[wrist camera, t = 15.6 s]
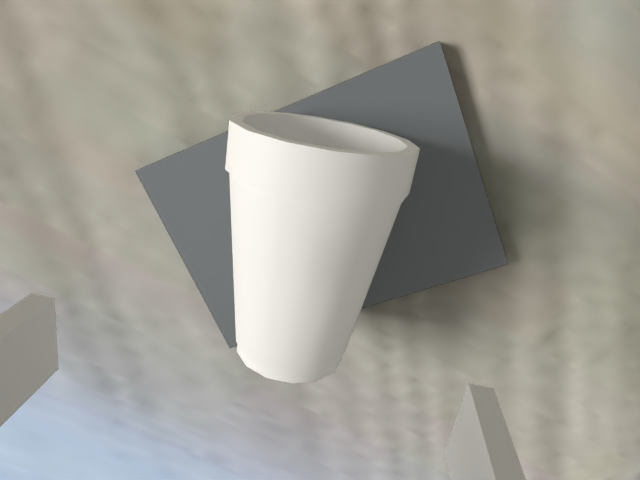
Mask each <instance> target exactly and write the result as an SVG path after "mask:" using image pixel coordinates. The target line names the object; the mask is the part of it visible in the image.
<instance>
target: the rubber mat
mask: <svg viewBox="0 0 640 480" xmlns="http://www.w3.org/2000/svg"><path fill="white" fill-rule="evenodd" d="M274 112H284V113H292V114H301V115H309V116H317V117H323V118H328V119H334V120H339V121H344V122H350V123H354V124H358V125H362V126H366V127H370V128H374V129H378V130H382V131H385V132H388V133H391V134H394V135H396V136H399V137H402V138H405V139H407V140H409V141H411V142H412V143H413V144H415V145H416V146H417V147H419V148H420V151H419V155H418V159H417V163H416V168H415V172H414V176H413V180H412V184H411V188H410V192H409V195H408V196H407V197H406V198H405V199H404V201H403V202H402V203H401V206H400V208H399V211H398V214H397V216H396V219H395V221H394V224H393V227H392V229H391V232H390V235H389V237H388V240H387V242H386V245H385V248H384V250H383V253H382V256H381V258H380V261H379V263H378V266H377V269H376V271H375V274H374V277H373V279H372V282H371V284H370V287H369V290H368V292H367V295H366V298H365V300H364V303H363V305H362V308H365V307H368V306H371V305H375V304H378V303H381V302H385V301H388V300H391V299H395V298H398V297H401V296H404V295H408V294H411V293H414V292H418V291H421V290H424V289H428V288H431V287H434V286H438V285H441V284H444V283H447V282H451V281H454V280H457V279H461V278H464V277H467V276H471V275H474V274H477V273H481V272H484V271H487V270H490V269H494V268H497V267H500V266H504V265H507V264H508V263H507V259H506V256H505V253H504V250H503V246H502V243H501V240H500V236H499V233H498V230H497V227H496V223H495V220H494V217H493V214H492V210H491V207H490V204H489V201H488V197H487V194H486V191H485V187H484V184H483V181H482V178H481V174H480V171H479V168H478V165H477V161H476V158H475V155H474V152H473V148H472V145H471V142H470V138H469V135H468V132H467V129H466V125H465V122H464V119H463V116H462V112H461V109H460V106H459V103H458V99H457V96H456V93H455V90H454V86H453V83H452V80H451V76H450V73H449V70H448V67H447V63H446V60H445V57H444V54H443V50H442V47H441V44H440V41H439V42H436V43H434V44H431V45H429V46H427V47H424V48H422V49H420V50H417V51H415V52H413V53H410V54H408V55H405V56H403V57H401V58H398V59H396V60H394V61H391V62H389V63H387V64H384V65H382V66H380V67H377V68H375V69H373V70H370V71H368V72H366V73H363V74H361V75H359V76H356V77H354V78H352V79H349V80H347V81H345V82H342V83H340V84H338V85H335V86H333V87H331V88H328V89H326V90H323V91H321V92H319V93H316V94H314V95H312V96H309V97H307V98H305V99H302V100H300V101H298V102H295V103H293V104H291V105H288V106H286V107H284V108H281V109H279V110H277V111H274ZM227 141H228V131H227V132H225V133H223V134H220V135H218V136H216V137H213V138H211V139H209V140H206V141H204V142H202V143H199V144H197V145H195V146H192V147H190V148H188V149H185V150H183V151H181V152H178V153H176V154H174V155H171V156H169V157H166V158H164V159H162V160H159V161H157V162H155V163H152V164H150V165H148V166H145V167H143V168H141V169H139V170H137V171H135V172H136V174H137V175H138V177H139V179H140V181H141V183H142V185H143V187H144V189H145V190H146V192H147V194H148V196H149V198H150V200H151V202H152V204H153V205H154V207H155V209H156V211H157V213H158V215H159V217H160V218H161V220H162V222H163V224H164V226H165V228H166V230H167V232H168V233H169V235H170V237H171V239H172V241H173V243H174V245H175V247H176V248H177V250H178V252H179V254H180V256H181V258H182V260H183V262H184V263H185V265H186V267H187V269H188V271H189V273H190V275H191V276H192V278H193V280H194V282H195V284H196V286H197V288H198V290H199V291H200V293H201V295H202V297H203V299H204V301H205V303H206V305H207V306H208V308H209V310H210V312H211V314H212V316H213V318H214V320H215V321H216V323H217V325H218V327H219V329H220V331H221V333H222V334H223V336H224V338H225V340H226V342H227V344H228V346H229V348H232V347H236V346H237V342H236V329H235V304H234V279H233V254H232V229H231V204H230V179H229V172H228V171H226V170H225V164H226V153H227Z"/></svg>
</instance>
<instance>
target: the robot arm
mask: <svg viewBox="0 0 640 480" xmlns="http://www.w3.org/2000/svg"><path fill="white" fill-rule="evenodd" d="M57 370H58V354H57V335H56V316H55V298H52V297H47V296H42V295H37V294H32V293H31V294H30V295H28V296H27V297H25V298H24V299H22V300H21V301H19V302H18V303H17V304H15V305H14V306H12V307H11V308H9V309H8V310H7V311H5V312H4V313H2V314H1V315H0V427H1V426H2V425H3V424H4V423H5V422H6V421H7V420H8V419H9V418H10V417H11V416H12V415H13V414H14V413H15V412H16V411H17V410H18V409H19V408H20V407H21V406H22V405H23V404H24V403H25V402H26V401H27V400H28V399H29V398H30V397H31V396H32V395H33V394H34V393H35V392H36V391H37V390H38V389H39V388H40V387H41V386H42V385H43V384H44V383H45V382H46V381H47V380H48V379H49V378H50V377H51V376H52V375H53V374H54V373H55V372H56V371H57ZM445 455H446V461H447V467H448V472H449V478H450V480H526V479H525V476H524V473H523V470H522V467H521V465H520V462H519V459H518V456H517V453H516V450H515V448H514V445H513V442H512V439H511V436H510V433H509V431H508V428H507V425H506V422H505V419H504V416H503V414H502V411H501V408H500V405H499V402H498V399H497V396H496V394H495V391H494V389H493V388H488V387H484V386H479V385H474V384H468V387H467V390H466V392H465V395H464V398H463V401H462V404H461V406H460V409H459V412H458V415H457V418H456V421H455V423H454V426H453V429H452V432H451V435H450V438H449V440H448V443H447V446H446V449H445Z"/></svg>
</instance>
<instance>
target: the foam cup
mask: <svg viewBox="0 0 640 480" xmlns="http://www.w3.org/2000/svg"><path fill="white" fill-rule="evenodd" d="M419 151H420V148H419V147H417V146H416V145H415V144H413V143H412V142H411V141H409V140H407V139H405V138H402V137H399V136H396V135H394V134H391V133H388V132H385V131H382V130H378V129H374V128H370V127H366V126H362V125H358V124H354V123H350V122H344V121H339V120H334V119H328V118H323V117H317V116H309V115H301V114H292V113H284V112H262V111H250V112H242V113H234V114H232V116H231V118H230V120H229V130H228V141H227V153H226V164H225V170H226V171H228V172H229V179H230V204H231V229H232V254H233V279H234V304H235V329H236V342H237V352H238V354H239V355H240V357H241V359H242V360H243V362H244V363H245V365H246V366H247V367H249V368H251V369H252V370H254V371H256V372H257V373H259V374H261V375H262V376H264V377H266V378H270V379H274V380H279V381H283V382H288V383H302V382H313V381H318V380H320V379H322V378H324V377H326V376H328V375H330V374H332V373H334V372H335V370H336V368H337V367H338V365H339V363H340V361H341V360H342V356H343V354H344V352H345V350H346V347H347V345H348V342H349V340H350V337H351V334H352V332H353V329H354V326H355V324H356V321H357V319H358V316H359V313H360V311H361V308H362V305H363V303H364V300H365V298H366V295H367V292H368V290H369V287H370V284H371V282H372V279H373V277H374V274H375V271H376V269H377V266H378V263H379V261H380V258H381V256H382V253H383V250H384V248H385V245H386V242H387V240H388V237H389V235H390V232H391V229H392V227H393V224H394V221H395V219H396V216H397V214H398V211H399V208H400V206H401V203H402V202H403V201H404V199H405V198H406V197H407V196H408V195H409V192H410V188H411V184H412V180H413V176H414V172H415V168H416V163H417V159H418V155H419Z"/></svg>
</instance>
